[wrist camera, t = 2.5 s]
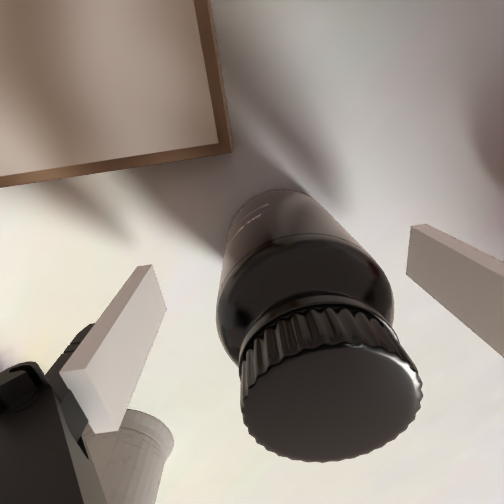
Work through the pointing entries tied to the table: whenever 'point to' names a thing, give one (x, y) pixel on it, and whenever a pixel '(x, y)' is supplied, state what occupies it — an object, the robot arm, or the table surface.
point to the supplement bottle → (311, 333)
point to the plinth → (107, 86)
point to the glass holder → (130, 458)
